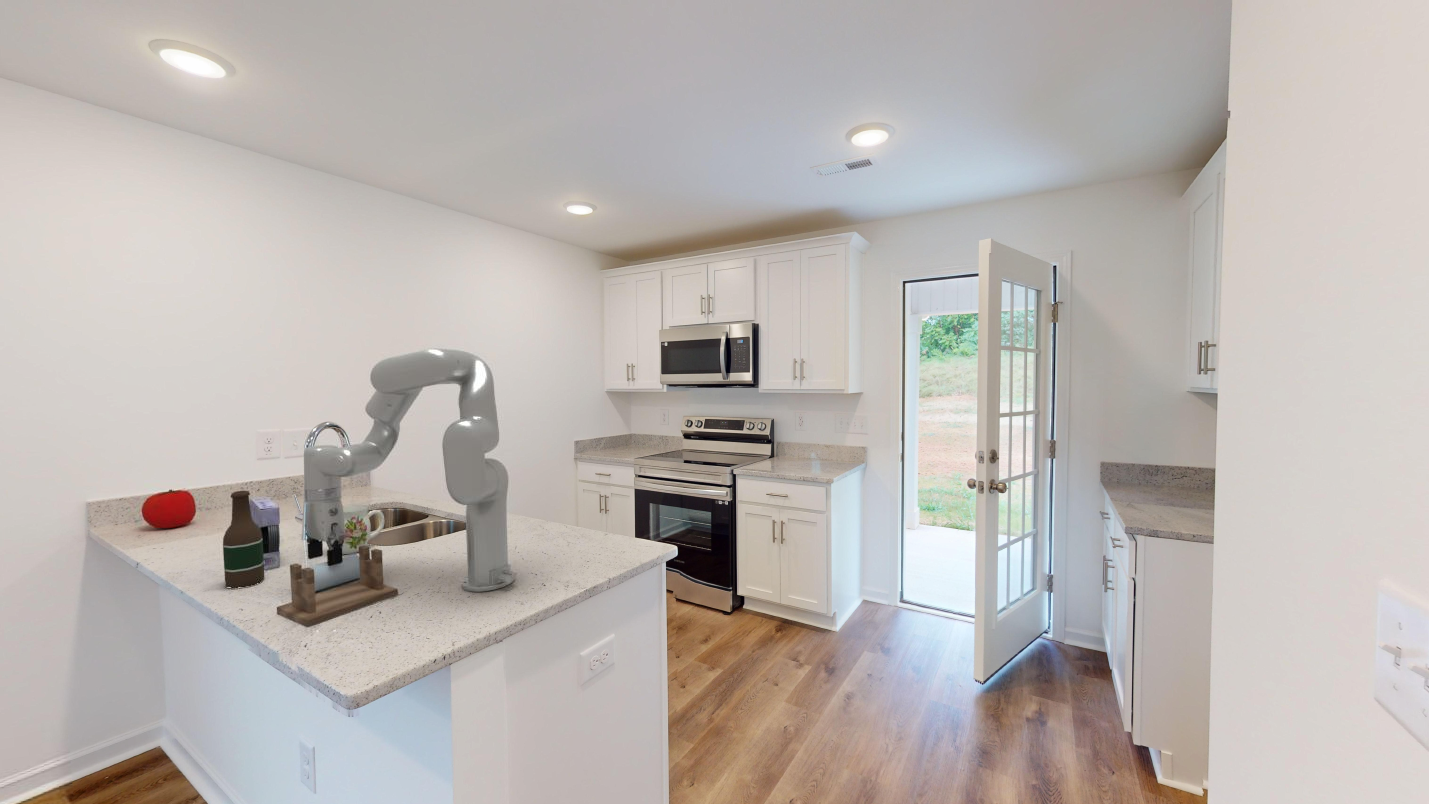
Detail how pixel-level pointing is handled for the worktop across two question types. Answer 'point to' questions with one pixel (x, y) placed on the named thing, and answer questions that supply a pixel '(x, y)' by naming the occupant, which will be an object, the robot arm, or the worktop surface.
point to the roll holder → (336, 592)
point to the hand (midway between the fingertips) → (325, 560)
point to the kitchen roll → (336, 572)
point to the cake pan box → (267, 529)
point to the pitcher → (358, 527)
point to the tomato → (169, 509)
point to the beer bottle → (242, 545)
